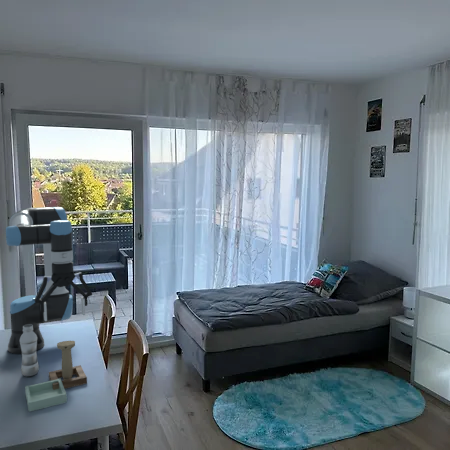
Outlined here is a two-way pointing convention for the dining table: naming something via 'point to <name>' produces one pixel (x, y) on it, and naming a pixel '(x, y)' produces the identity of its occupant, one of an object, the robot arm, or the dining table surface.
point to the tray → (45, 395)
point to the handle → (66, 358)
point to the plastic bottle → (29, 351)
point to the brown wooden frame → (69, 383)
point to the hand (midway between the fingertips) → (64, 317)
